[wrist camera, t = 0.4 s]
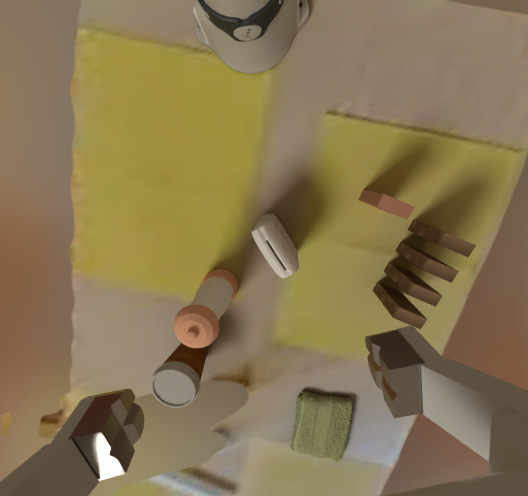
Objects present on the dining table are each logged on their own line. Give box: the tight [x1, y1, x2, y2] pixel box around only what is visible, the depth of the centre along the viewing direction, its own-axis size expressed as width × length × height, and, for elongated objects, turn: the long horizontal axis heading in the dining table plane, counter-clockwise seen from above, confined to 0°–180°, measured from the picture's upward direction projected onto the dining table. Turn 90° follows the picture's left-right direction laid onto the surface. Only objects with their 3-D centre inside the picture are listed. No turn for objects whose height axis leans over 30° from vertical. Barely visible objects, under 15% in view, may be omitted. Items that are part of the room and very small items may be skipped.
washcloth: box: [291, 391, 352, 461], centre depth 64 cm, size 13×18×3 cm
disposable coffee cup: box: [151, 343, 207, 408], centre depth 57 cm, size 10×10×12 cm
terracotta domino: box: [359, 190, 415, 219], centre depth 46 cm, size 2×5×11 cm, turn 67°
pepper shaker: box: [174, 269, 238, 348], centre depth 49 cm, size 7×7×19 cm
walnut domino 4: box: [373, 282, 427, 329], centre depth 50 cm, size 2×5×11 cm, turn 68°
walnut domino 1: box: [408, 221, 476, 257], centre depth 47 cm, size 2×5×11 cm, turn 67°
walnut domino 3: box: [384, 263, 442, 306], centre depth 49 cm, size 2×5×11 cm, turn 67°
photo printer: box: [251, 213, 299, 278], centre depth 49 cm, size 10×4×12 cm, turn 32°
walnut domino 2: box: [396, 242, 459, 282], centre depth 48 cm, size 2×5×11 cm, turn 68°
